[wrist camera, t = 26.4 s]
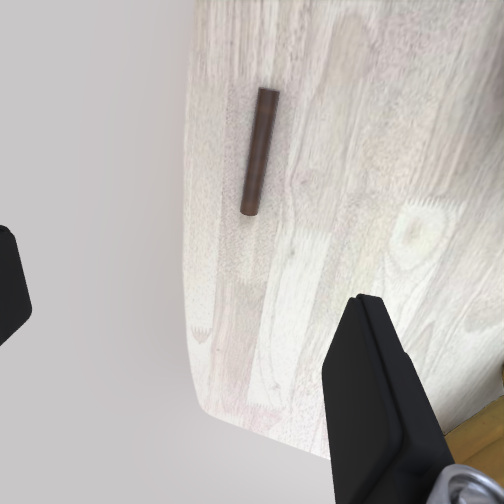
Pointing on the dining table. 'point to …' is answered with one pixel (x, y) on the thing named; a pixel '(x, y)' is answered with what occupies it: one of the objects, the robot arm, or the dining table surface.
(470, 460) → the brown looped sculpture
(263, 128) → the stick
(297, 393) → the dining table surface
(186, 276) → the dining table surface
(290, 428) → the dining table surface
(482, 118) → the dining table surface
